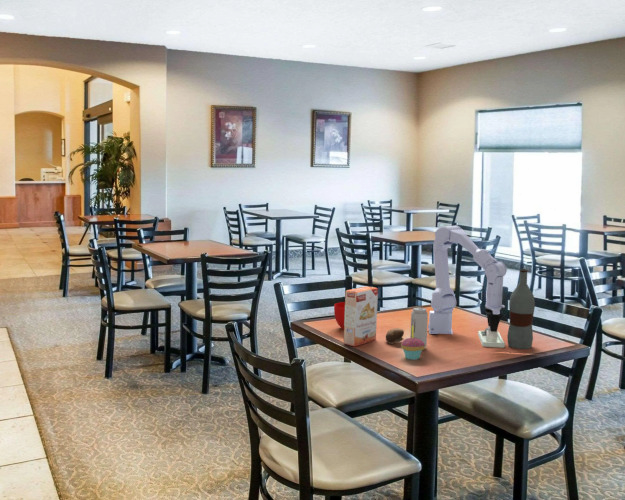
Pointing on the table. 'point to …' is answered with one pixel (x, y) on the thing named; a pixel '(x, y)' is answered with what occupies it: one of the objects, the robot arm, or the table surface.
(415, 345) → the cupcake
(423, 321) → the energy drink can
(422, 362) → the table surface
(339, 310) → the ceramic cup
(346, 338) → the cracker box
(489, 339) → the shaker
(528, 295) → the bottle
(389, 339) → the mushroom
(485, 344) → the tray
